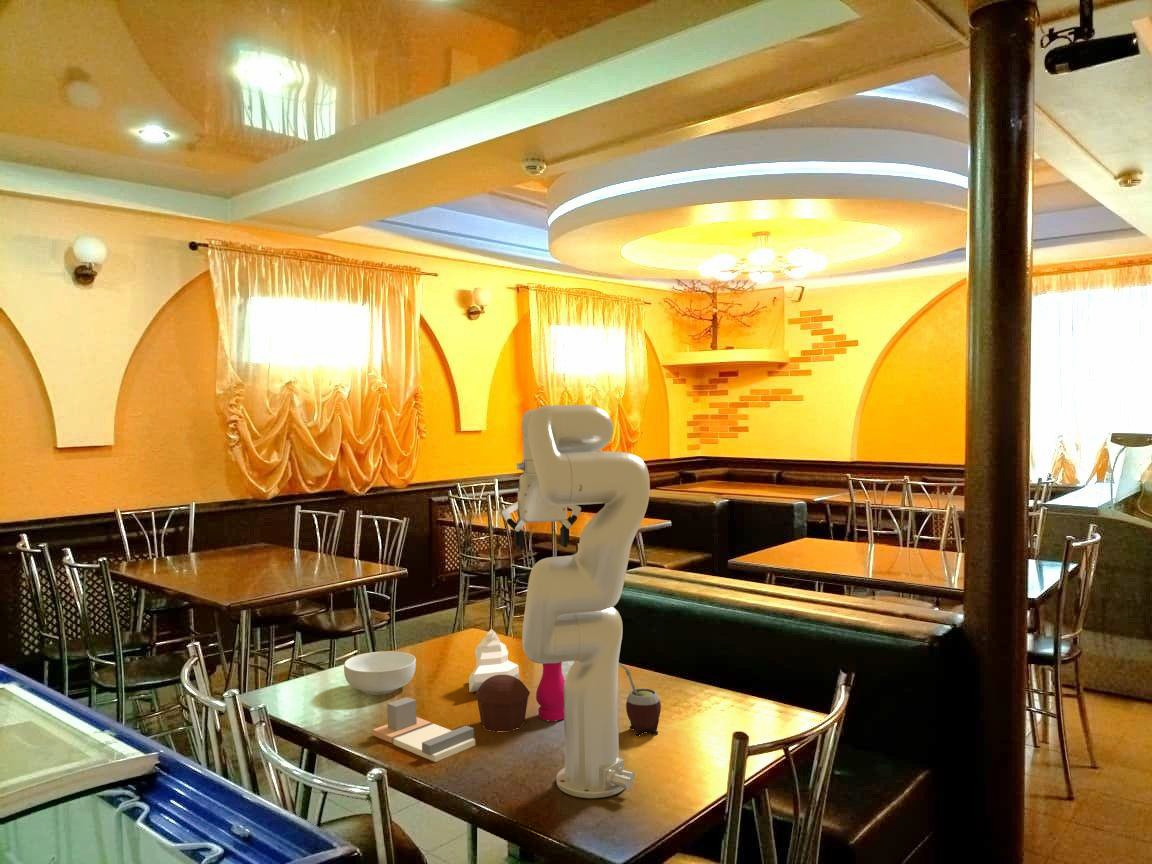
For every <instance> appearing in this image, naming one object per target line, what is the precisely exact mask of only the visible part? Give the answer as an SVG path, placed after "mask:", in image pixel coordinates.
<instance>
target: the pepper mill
mask: <svg viewBox="0 0 1152 864" xmlns="http://www.w3.org/2000/svg"><path fill="white" fill-rule="evenodd" d="M562 665H563V662H557V663H545V664H542V675H541V678H540V680H539V681H540V682H539V683H538V686H537V689H536V692H535V693H536V694H535V700H536V702H537V703H538V705H539V707H538V718H539V719H540V718H541V719H540V720H542V719H543V720H542V721H544V720H549V721H548V722H556V721H555V720H560V721H562V720H561V719H563V720H564V683H565V678H564V675H563V670H562V667H563V666H562Z"/></svg>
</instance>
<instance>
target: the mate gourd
mask: <svg viewBox="0 0 1152 864" xmlns="http://www.w3.org/2000/svg"><path fill="white" fill-rule="evenodd" d="M618 666H620V667H621V668H623V670H624V672H625V673H626V676H628V680H629V683H630V685H631V688H632V690H630V692H629V694H628V696H627V698H626V703H625V709H626V710H625V711H626V714H627V717H628V719H629V722H630V726H629V729H630V730H631V729H634V730H633V731H635V730H636V731H635V732H636V733H634V736H635V735H636V736H639V735H640V736H642V735H643V734H645V733H644V732H647V733H646V734H649V733H651V734H650V735H653V734H656V735H655V736H657V735H658V734H659V732H658V731H657V730H658V727H659V722H660V715H661V709H662V706H661V698H660V696H659V695H658V693H657V692H656V691H655V690H653V689H650V688H636V686H635V684H634V681H633V678H632V676H631V671H630V670H629V669H628V667H626V666H625V665H624V664H622V663H620V662H619V663H618ZM642 733H643V734H642ZM641 734H642V735H641ZM636 736H635V737H636ZM640 736H639V737H640Z"/></svg>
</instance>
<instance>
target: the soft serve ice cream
mask: <svg viewBox="0 0 1152 864" xmlns="http://www.w3.org/2000/svg"><path fill="white" fill-rule="evenodd" d="M474 653H475V658H476V667H475V668H474V670H473V671H472V672H471V674H470V676H469V677H468V686H469V687H468V689H469V691H470V692H471V693H475V692H477V691H478V689H479V687H480V686H481V685H482V683H483V682H484V681H485V680H487V679H488V678H490V677H492V676H495V675H511V676H513V677H516V678H517V679H519V680H520V670H519V669H520V668H519V664H517V663H514V662H512V661H510V660H509V659H508V657H509V656H508V655H509V650H508V649H507V646H506V644H504V643H503V642H501V640H500V638H499V637H498V636H497V632H495V631H494V630H493V629H492V628H490V630H489V631H488V632H487V633H486V635H484V636H483V637H482V640H481V641H480V642H479V643H478V644H477V646H476V648H475V650H474ZM469 691H468V692H469ZM474 691H475V692H474Z"/></svg>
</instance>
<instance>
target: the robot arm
mask: <svg viewBox="0 0 1152 864" xmlns="http://www.w3.org/2000/svg"><path fill="white" fill-rule="evenodd" d="M521 433H522V461H521V462H519V463H516V470H520V471H522V473H523V474H521V475H520V477H519V483H518V490H517V501H515V502H514V503H513V504H510V505H509V506H507V507H506V508H503V509H502V510H500V511H501V515H502V517H503V519H504V520H505V522H506V524H507V525H509V526H510V527H511V528H512V530H514V531H513V532H514V534H513V535H514V536H513V537H514V546H515V547H516V548H517V549H518V550H519V551H523V550H524V531H523V530H522V529H523V527H524V526H525V525H526V523H547V522H548V523H549V522H559V523H560V524H561V527H560V528H559V532H560V533H559V537H560V538H559V539H560V541H559V542H560V543H559V544H560V546H561V547H563V548H568V543H570V529H571V527H572V525H573V524H575V522H576V521H578V517H579V515H580V513H581V511H582V507H581V506H579V505H594V504H595V505H597V504H598V505H599V504H604V506H603V507H602V508H601V509H600V510H599V511H598V512H596V513H595V514H594V515H593V516H592V517H591V519H589V521H588V522H587V524H585V526H584V527H583V530H582V531H581V533H580V535H579V536H580V537H579V543H578V549H577V552H576V553H574V554H571V555H564V556H563V555H562V556H561V555H560V556H551V557H550V556H549V557H545V558H542V559H540V560H538V561H537V562H536V563H535V564H534V565H533V566H532V569H531V571H530V574H529V576H528V583H527V591H526V598H525V605H524V607H525V608H524V616H523V622H522V629H521V630H522V631H521V632H522V633H521V637H522V638H521V641H522V648H523V651H524V654H525V656H526V657H527V659H528V660H530V661H531V662H532V663H535V664H539V665H540V664H542V665H543V664H545V663H557V662H562V663H566V662H573V663H572V665H571V667H570V668H569V670H568V671H567V674H566V676H565V678H564V680H565V683H564V719H563V722H564V723H563V725H564V729H563V730H564V731H563V732H564V767H563V768H562V769H560V770H559V771H558V772H557V774H556V779H555V780H556V786H557V788H559V790H560V791H562V792H563V793H564V794H567V795H570V796H573V797H577V798H583V799H601V798H602V799H603V798H607V797H611V796H615V795H617V794H619V793H621V792H622V791H623V790H627V791H630V790H631V789H632V787H633V785H634V781H635V779H636V773H635V772H633V771H630V770H626V769H625V760H624V758H621V757H620V744H619V737H620V736H619V735H620V734H619V733H620V732H619V664H618V663H620V662H619V660H620V653H621V645H622V640H623V629H624V628H623V620H622V616H621V615H620V612H619V610H617V609H616V608H615V607H614V606H616V605H617V604H618V603H619V600H620V599H621V597H622V594H623V593H622V592H623V588H624V584H625V580H626V579H625V578H626V576H627V569H628V564H629V559H630V556H631V555H630V554H631V549H632V545H633V542H634V539H635V537H636V535H637V533H638V530H639V529H640V527H641V524H642V523H643V520H644V518H645V514H646V512H647V509H648V505H649V500H650V492H651V487H650V486H651V485H650V484H651V483H650V474H649V470H648V469H649V468H648V466H647V464H646V463H645V462H644V460H643V459H642V458H641V457H639V456H637V455H635V454H633V453H629V452H623V451H601V450H603V449H604V448H605V447H607V446H608V444H609V443H611V440H612V438H613V435H614V424H613V421H612V418H611V416H610V415H609V414H608V413H607V412H606V411H605V410H604V409H603V408H600V407H598V406H594V405H591V404H573V405H572V404H569V405H568V404H567V405H566V404H565V405H564V404H563V405H562V404H561V405H559V404H555V405H543V406H540V407H538V408H535V409H534V408H533V409H530V410H527V411H525V412H524V413H523V414H522V421H521ZM568 509H571V511H572V512H571V514H570V515H569V516H567V515H568ZM515 511H516V514H517V520H516V521H514V520H513V519H512V517H511V514H512V513H513V512H515Z"/></svg>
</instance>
